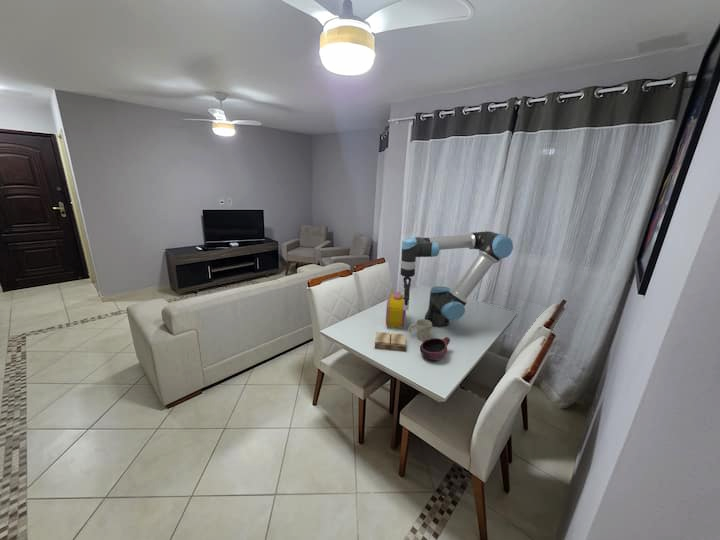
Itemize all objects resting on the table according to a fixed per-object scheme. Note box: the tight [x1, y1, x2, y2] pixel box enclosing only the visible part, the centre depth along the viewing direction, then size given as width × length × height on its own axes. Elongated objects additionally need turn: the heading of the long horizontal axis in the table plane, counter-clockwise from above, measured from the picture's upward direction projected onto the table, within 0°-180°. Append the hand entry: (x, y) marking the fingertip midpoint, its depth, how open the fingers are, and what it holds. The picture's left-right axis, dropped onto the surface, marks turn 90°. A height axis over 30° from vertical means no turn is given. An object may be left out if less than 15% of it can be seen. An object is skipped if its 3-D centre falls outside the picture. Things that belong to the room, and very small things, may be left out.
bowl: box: [419, 336, 451, 361], centre depth 136 cm, size 16×13×8 cm
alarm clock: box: [385, 291, 407, 329], centre depth 165 cm, size 18×11×19 cm, turn 168°
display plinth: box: [374, 331, 407, 353], centre depth 144 cm, size 16×11×4 cm
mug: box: [407, 318, 433, 342], centre depth 150 cm, size 8×13×10 cm, turn 78°
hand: (405, 304), depth 149 cm, fingers open, 13 cm apart
